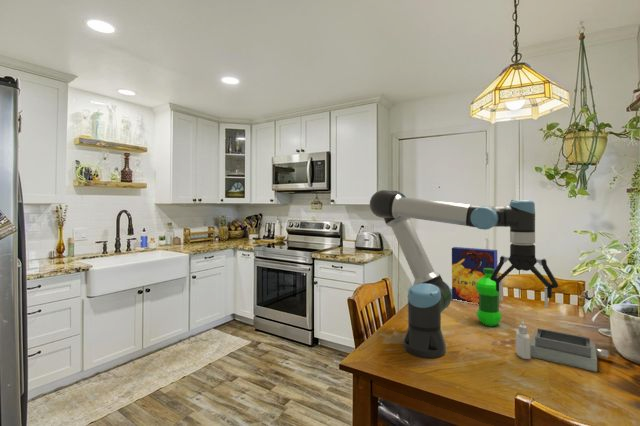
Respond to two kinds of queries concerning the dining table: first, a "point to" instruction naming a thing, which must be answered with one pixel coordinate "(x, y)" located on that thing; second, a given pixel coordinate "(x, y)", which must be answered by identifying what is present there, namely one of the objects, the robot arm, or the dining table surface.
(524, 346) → the eye dropper bottle
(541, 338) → the grey rectangular open box
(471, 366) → the dining table surface
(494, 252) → the cereal box
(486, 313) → the plastic bottle
